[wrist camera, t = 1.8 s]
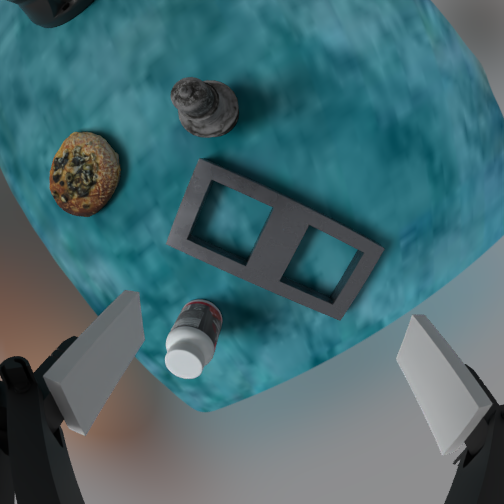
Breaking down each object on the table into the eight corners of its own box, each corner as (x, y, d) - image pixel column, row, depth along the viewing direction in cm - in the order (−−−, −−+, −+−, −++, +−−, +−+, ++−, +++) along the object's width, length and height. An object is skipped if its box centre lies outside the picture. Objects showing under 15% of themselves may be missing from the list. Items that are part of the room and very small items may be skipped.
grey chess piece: (224, 148, 29) (197, 143, 18) (178, 126, 29) (129, 111, 17) (251, 102, 28) (240, 69, 16) (204, 80, 27) (168, 42, 16)
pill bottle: (227, 331, 36) (215, 382, 27) (189, 335, 37) (168, 384, 28) (216, 294, 35) (199, 342, 26) (176, 300, 35) (149, 346, 26)
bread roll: (67, 225, 33) (44, 230, 28) (55, 150, 31) (33, 146, 26) (133, 202, 32) (113, 204, 27) (118, 119, 30) (98, 109, 25)
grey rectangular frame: (171, 238, 33) (165, 243, 31) (203, 158, 30) (199, 158, 28) (337, 312, 35) (340, 320, 33) (378, 243, 32) (384, 248, 30)
